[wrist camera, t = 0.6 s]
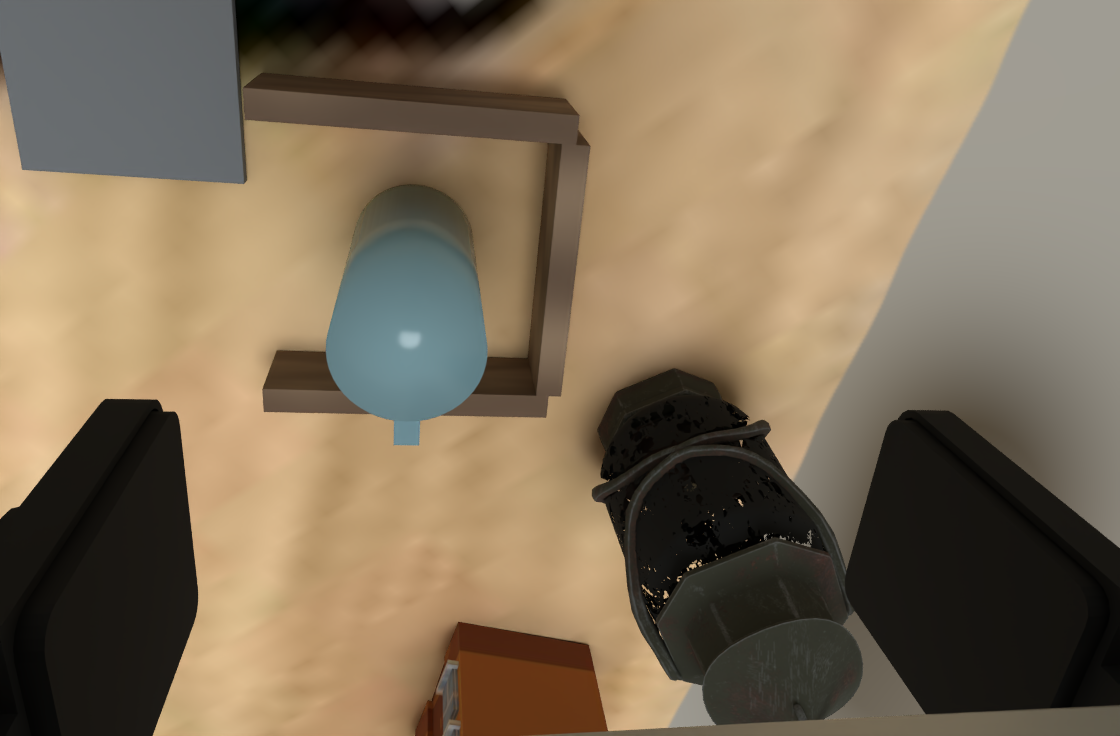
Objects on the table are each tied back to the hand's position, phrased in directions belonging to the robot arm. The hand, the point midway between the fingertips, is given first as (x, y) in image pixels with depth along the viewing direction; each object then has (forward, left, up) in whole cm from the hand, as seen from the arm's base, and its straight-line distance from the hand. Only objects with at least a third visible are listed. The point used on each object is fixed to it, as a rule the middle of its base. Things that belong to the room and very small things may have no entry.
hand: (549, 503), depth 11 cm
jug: (+8, -2, -30) cm, 31 cm away
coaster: (0, -14, -30) cm, 33 cm away
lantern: (+17, +12, -30) cm, 36 cm away
